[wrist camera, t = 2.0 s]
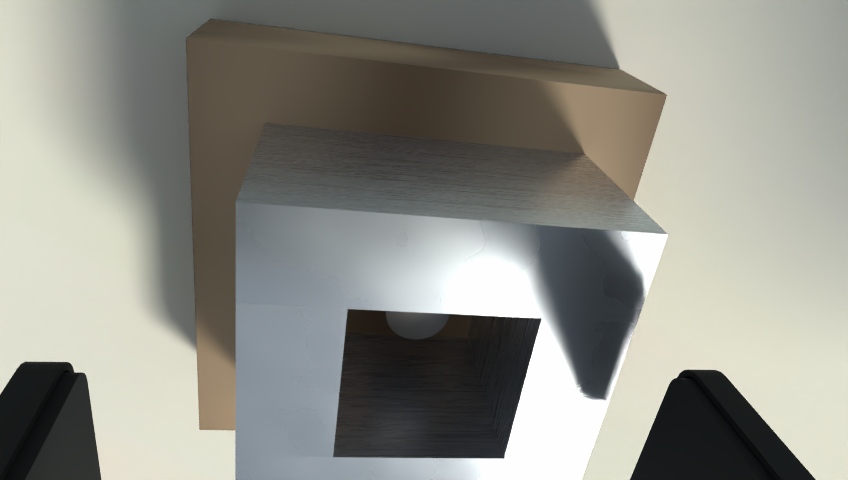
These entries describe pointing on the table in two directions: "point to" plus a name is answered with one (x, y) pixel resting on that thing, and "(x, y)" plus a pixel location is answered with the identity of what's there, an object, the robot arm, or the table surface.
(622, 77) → the stand
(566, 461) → the square hollow frame
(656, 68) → the table surface
